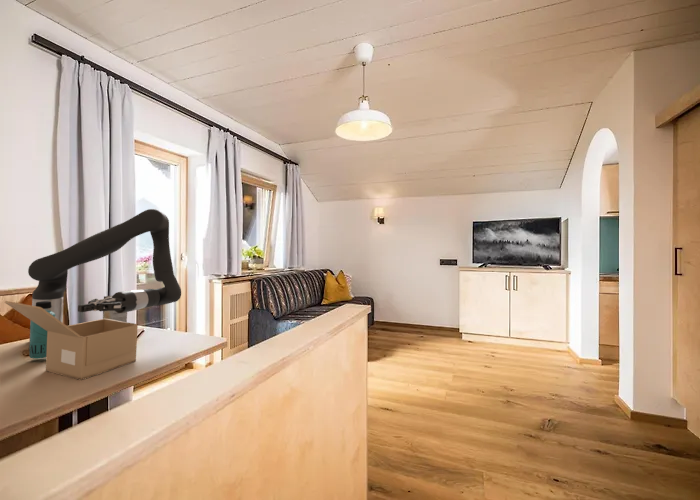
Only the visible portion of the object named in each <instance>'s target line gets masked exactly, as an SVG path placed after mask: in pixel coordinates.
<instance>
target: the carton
mask: <svg viewBox="0 0 700 500" xmlns="http://www.w3.org/2000/svg"><path fill="white" fill-rule="evenodd" d="M67 326H68V327H69V328H71V329H72V330H73V331H75V332H76V333H77V334H79V335H80V336H81V337H80V338H79V337H74V336H69V335H64V334H60V333H55V332H50V331H47V355H46V357H45V358H46V362H45V363H46V364H45V371H46V372H48V373H49V372H50V373H52V374H53V373H54V374H57V375H62V376H64V377H67V378H68V377H69V378H72V379H76V380H79V379H80V380H79V381H82V380H85V378H86V379H89V378H92V377H94V375H95V376H97V374H98V375H100V373H101V374H103V373H105V372H109V371H112V370H114V369H118V368H121V367H124V366H126V365H129V364H132V363H135V362H137V344H138V342H137V341H138V324H137V323H132V322H128V321H127V322H122V321H117V320H111V319H103V318H100V319H94V320H89V321H85V322H81V323H80V322H79V323H74V324H70V325H67ZM91 376H92V377H91ZM88 377H89V378H88Z"/></svg>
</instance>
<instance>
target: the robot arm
mask: <svg viewBox="0 0 700 500" xmlns="http://www.w3.org/2000/svg"><path fill="white" fill-rule="evenodd" d="M145 233H150V236H151V239H152V245H153V250H152V251H153V253H152V267H153V274H154V279H155V280H156V282H161V283H163V285H164V287H160V288H155V289H154V288H146V289H133V290H125V291H124V290H123V291H118V292H115V293H114V294H113V295H112V296H113V297H112V298H104V297H103V298H102V299H98V298H94V299H91V300H89V301H88V302H87V303H83V304H78V306H77V312H79V313H87V312H91V311H93V312H96V311H98V312H103V311H115V312H117V313H124V312H127V313H128V312H133V311H138V310H141V309H147V308H151V307H155V306H157V307H158V306H164V305H169V304H171V303H176V302H179V300H180V299H181V296H182V288H181V286H180V283H179V282H178V280H177V278H176V276H175V273H174V267H173V266H174V265H173V262H172V256H171V255H172V254H171V248H170V220H169V218H168V216H167V215H166V214H165V213H164V212H162V211H160V210H159V209H156V208H148V209H145V210H143V211H141V212H140V213H137V214H136V215H135V216H133V217H131V218H129V219H128V220H126V221H124V222H121V223H118V224H116V225H114V226H111V227H110V228H107V229H105V230H102V231H100V232H97V233H95V234H93V235H91V236H89V237H86V238H85V239H83V240H80V241H79V242H77V243H74V244H73V245H71V246H69V247H67V248H65V249H63V250H60V251H58V252H54V253H52V254H50V255H46V256H43V257H40V258H38V259H37V258H36V260H33V261H32V262H31V264H30V265H29V267H28V268H27V270H28V271H27V272H28V273H27V274H28V276H29V277H30V278H31V279H32V280H34V281H36V282H37V281H38V284H37V286H36V288H35V289H34V290H33V292H32V296H31V306H36V302H41V301H50V302H51V306H52V307H51V308H48V309H44V310H46V311H52V312H54V313H55V318H57V319H58V320H59V321H61V322H62V323H63V319H64V318H63V317H64V295H65V291H66V289H67V283H68V273H69V272H68V270H71V269H72V268H75V267H77V266H80V265H83V264H87V263H90V262H93V261H96V260H98V259H102V258H104V257H107V256H109V255H111V254H113V253H115V252H116V251H119V250H120V249H122V248H123V247H124V246H125V245H126V244H127V243H128V242H130V241H131V240H133V239H134V238H136V237H138V236H141V235H143V234H145ZM29 323H30V324H29V325H31V322H29Z"/></svg>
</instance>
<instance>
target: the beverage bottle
mask: <svg viewBox="0 0 700 500" xmlns="http://www.w3.org/2000/svg"><path fill="white" fill-rule="evenodd" d="M36 306H37V307H41V308H43V309H48V308H51V307H52V306H51V302H50V301H41V302H36ZM47 312H48V313H50V314H51V315H53V316H54V317H55V313H54V312H52V311H47ZM30 323H31V325H30V324H29V325H30V326H29V338H28V339H29V345H28V349H29V350H28V356H29V358H30V359H37V360H38V359H45V358H46V355H47V331H46V330H45V329H43V328H42V327H40V326H39V325H37V324H36V323H34V322H33V321H31V320H30Z"/></svg>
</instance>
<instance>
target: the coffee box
mask: <svg viewBox="0 0 700 500" xmlns="http://www.w3.org/2000/svg"><path fill="white" fill-rule="evenodd" d="M112 297H113V295H105V296H103V299H104V298H112ZM102 319H111V320H117V321H122V322H128V312H124V313H117V312H115V311H102Z"/></svg>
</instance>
